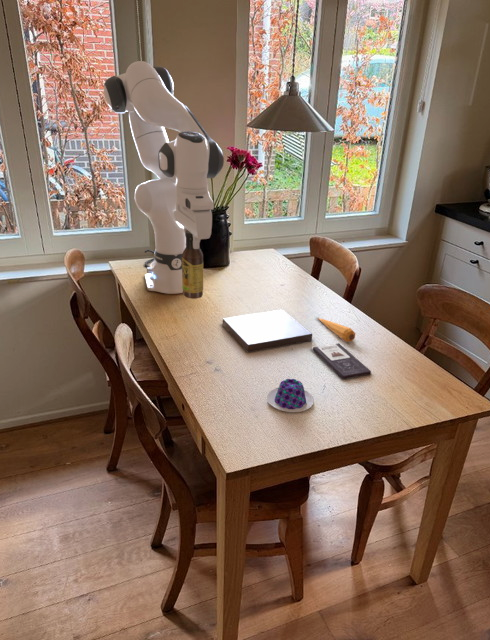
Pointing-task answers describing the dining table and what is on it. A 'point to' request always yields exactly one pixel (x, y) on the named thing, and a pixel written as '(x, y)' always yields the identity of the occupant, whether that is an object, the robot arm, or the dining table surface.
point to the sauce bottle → (192, 269)
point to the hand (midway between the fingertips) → (192, 245)
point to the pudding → (290, 396)
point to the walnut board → (266, 330)
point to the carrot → (340, 330)
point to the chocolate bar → (341, 361)
